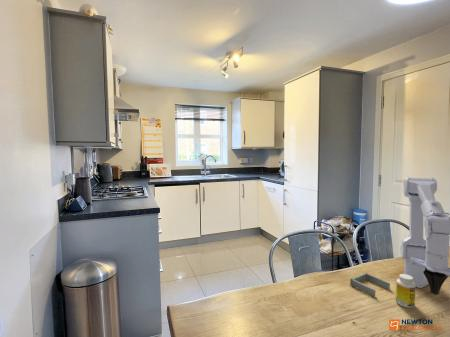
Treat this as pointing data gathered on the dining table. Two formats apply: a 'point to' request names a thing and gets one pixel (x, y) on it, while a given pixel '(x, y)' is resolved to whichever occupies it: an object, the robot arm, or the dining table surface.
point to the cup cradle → (362, 277)
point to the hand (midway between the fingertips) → (435, 293)
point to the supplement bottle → (405, 291)
